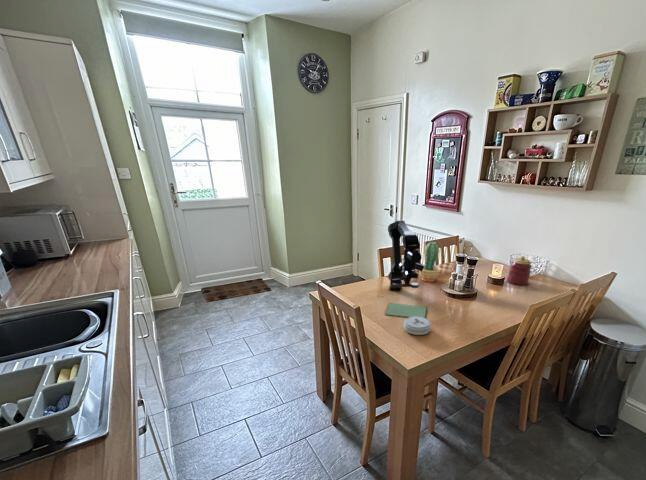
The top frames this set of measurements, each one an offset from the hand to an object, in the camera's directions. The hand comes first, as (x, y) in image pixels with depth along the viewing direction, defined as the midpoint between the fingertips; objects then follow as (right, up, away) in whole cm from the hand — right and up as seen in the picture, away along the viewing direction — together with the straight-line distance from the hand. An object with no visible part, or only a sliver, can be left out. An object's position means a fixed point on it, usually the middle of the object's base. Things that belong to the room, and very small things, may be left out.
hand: (406, 285), depth 181 cm
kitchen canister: (+78, +4, +37) cm, 86 cm away
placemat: (-1, -14, -8) cm, 16 cm away
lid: (+2, -23, -26) cm, 35 cm away
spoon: (-1, -1, 0) cm, 1 cm away
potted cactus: (+19, +5, +38) cm, 43 cm away
